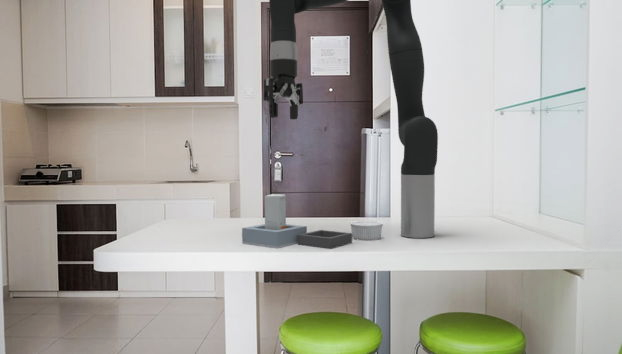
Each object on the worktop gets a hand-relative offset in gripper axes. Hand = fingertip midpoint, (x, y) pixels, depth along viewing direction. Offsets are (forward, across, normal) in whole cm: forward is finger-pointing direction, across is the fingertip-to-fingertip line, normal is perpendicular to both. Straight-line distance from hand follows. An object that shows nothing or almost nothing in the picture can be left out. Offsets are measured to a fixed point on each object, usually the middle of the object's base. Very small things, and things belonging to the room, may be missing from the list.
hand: (284, 118), depth 142 cm
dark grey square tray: (+33, -3, -16) cm, 37 cm away
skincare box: (+33, -9, -4) cm, 34 cm away
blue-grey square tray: (+33, -9, -4) cm, 35 cm away
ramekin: (+34, +11, -20) cm, 41 cm away
